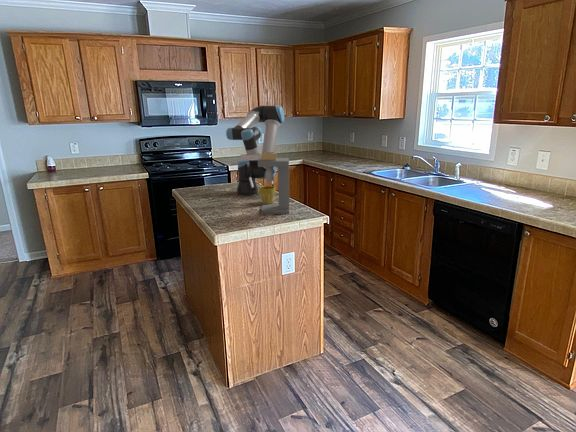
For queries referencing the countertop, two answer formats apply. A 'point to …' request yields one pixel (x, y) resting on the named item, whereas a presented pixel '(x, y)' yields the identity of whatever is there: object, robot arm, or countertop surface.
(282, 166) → the press stand
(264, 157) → the metal block
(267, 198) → the plant pot
